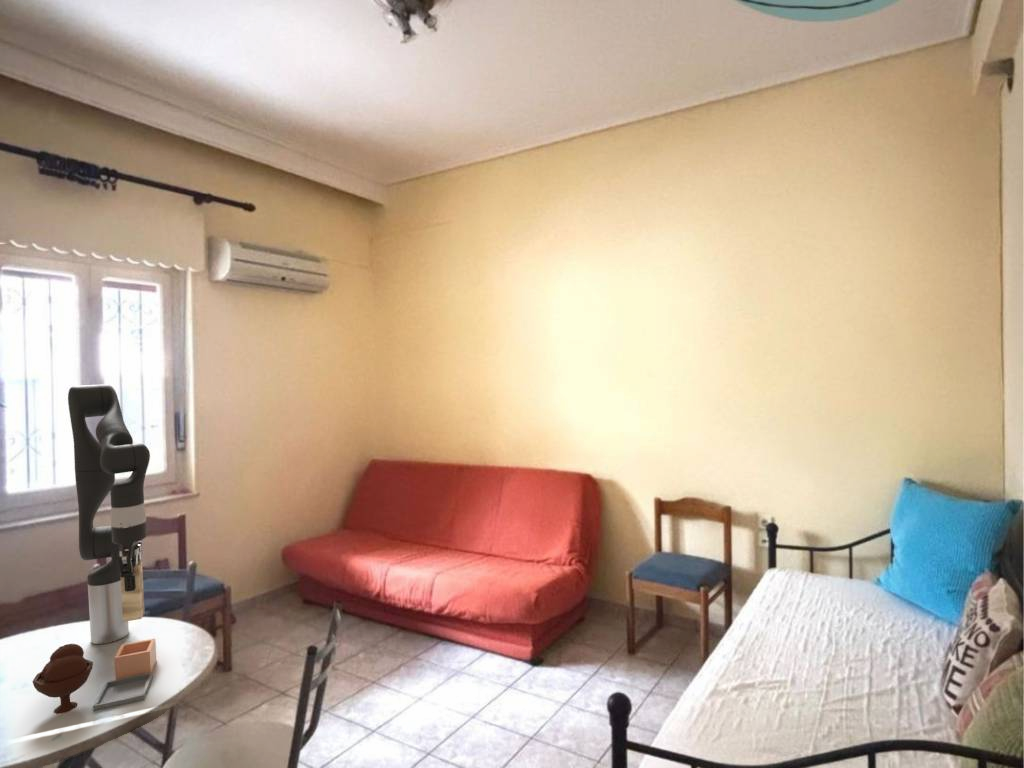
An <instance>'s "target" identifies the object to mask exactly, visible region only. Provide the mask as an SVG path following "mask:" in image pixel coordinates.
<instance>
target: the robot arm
mask: <svg viewBox="0 0 1024 768" xmlns="http://www.w3.org/2000/svg"><path fill="white" fill-rule="evenodd" d="M67 402H68V411H69V412H68V413H69V419H70V426H71V433H72V439H73V455H74V459H73V460H74V475H75V488H76V495H77V497H76V498H77V503H78V505H77V506H78V550H79V555H80V557H81V559H82V560H83V561H93V560H99V559H107V558H111V560H110V561H108V562H107V563H106V564H104V565H102V566H99V567H97V568H95V569H93V570H92V571H90V572H89V573H88V574H87V594H88V611H89V627H90V628H89V630H90V642H91V643H92V644H94V645H103V643H104V644H109V643H112V641H113V642H115V641H116V642H117V641H119V640H121V639H123V638H125V637H126V636H128V635H129V633H130V632H129V631H130V630H129V621H126V622H123V614H122V595H121V578H122V577H123V578H124V583H125V591H126V592H128V591H134V590H135V588H136V585H135V574H136V573H135V566H137V561H141V560H142V544H143V543H142V541H143V540H144V539H146V538H147V537H148V529H147V513H146V512H147V511H146V506H145V496H144V495H145V494H144V485H145V478H146V474H147V471H148V467H149V464H150V459H151V454H150V450H149V448H148V447H147V446H146V444H143V443H134V440H133V437H132V434H131V433H130V431H129V429H128V428H127V427H128V426H126V423H125V419H124V415H123V412H122V409H121V405H120V404H121V403H120V401H119V398H118V394H117V392H116V389H115V388H114V387H113V386H112V385H109V384H99V383H98V384H86V385H85V384H84V385H73V386H71V387H70V388H69V389H68V394H67ZM94 417H102V418H101V419H100V421H99V422H98V423H97V425H96V428H95V436H94V435H93V434H92V432H91V430H90V429H89V427H88V424H87V422H86V421H87V420H86V418H94ZM95 437H96V438H95ZM130 472H132V473H131V474H130V476H129V477H127V478H126V479H124V480H121V481H117V482H116V476H115V475H117V474H122V473H123V474H124V473H130ZM115 482H116V483H115ZM109 493H110V508H111V509H110V525H103V526H101V525H100V526H95V527H94V520H95V516H96V514H97V512H98V510H99V509H100V507H101V505H102V503H103V502H104V501H105V499H106V498H107V496H108V495H109ZM132 562H134V563H133V564H132ZM126 569H129V570H130V571H129V572H126ZM120 573H121V577H120Z"/></svg>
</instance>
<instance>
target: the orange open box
mask: <svg viewBox="0 0 1024 768" xmlns="http://www.w3.org/2000/svg"><path fill="white" fill-rule="evenodd" d="M113 661H114V675H115V676H114V678H115V679H114V680H117V679H122V678H127V677H132V676H136V675H141V674H146V673H151V672H154V668H155V667H156V664H157V661H158V660H157V645H156V638H151V639H150V638H148V639H144V640H140V641H133V642H128V643H122V644H121V645H120V647H119V648H118V651H117V652H116V654H115V656H114V659H113Z"/></svg>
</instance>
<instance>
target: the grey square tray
mask: <svg viewBox="0 0 1024 768" xmlns="http://www.w3.org/2000/svg"><path fill="white" fill-rule="evenodd" d="M153 678H154V671H152V672H151V673H146V674H141V675H136V676H132V677H127V678H122V679H117V680H115V679H113V680H109V681H105V683H104V685H103V686H102V688H101V690H100V693H99V694H98V696H97V698H96V700H95V702H94V703H93V705H92V711H93V712H97V711H101V710H106V709H110V708H115V707H120V706H124V705H125V706H126V705H128V704H133V703H137V702H142V701H145V699H146V697H147V694H148V691H149V689H150V686H151V684H152V681H153Z"/></svg>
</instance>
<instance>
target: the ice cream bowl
mask: <svg viewBox="0 0 1024 768" xmlns="http://www.w3.org/2000/svg"><path fill="white" fill-rule="evenodd" d="M84 653H85V651H84V649H83V647H82V646H80V645H79V644H75V643H68V644H64V645H62V646H61V645H60V646H59V647H58V648H56V650H54V652H52V654H51V655H50V656H49V661H48V662H47V663H46V664H45V665H44V667H42V670H41V671H40V672H38V673H37V674H35V677H34V678H33V680H31V681H32V684H33V687H34V689H35V691H37V692H38V693H40V694H42V695H44V696H47V697H49V698H59V699H60V705H59V706H57V707H56V708H54V710H53V714H56V715H60V714H65V713H68V712H71V711H73V710H74V709H75V708H77V707H78V705H79V703H78V702H76V701H71V694H72V693H74V692H76V691H77V690H79V689H80V688H81V687H83V685H85V683H86V682H87V681H88V679H89V677H90V675H91V672H92V671H93V665H94V662H93V661H91V660H88V659H87V658H85V657H84Z"/></svg>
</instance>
